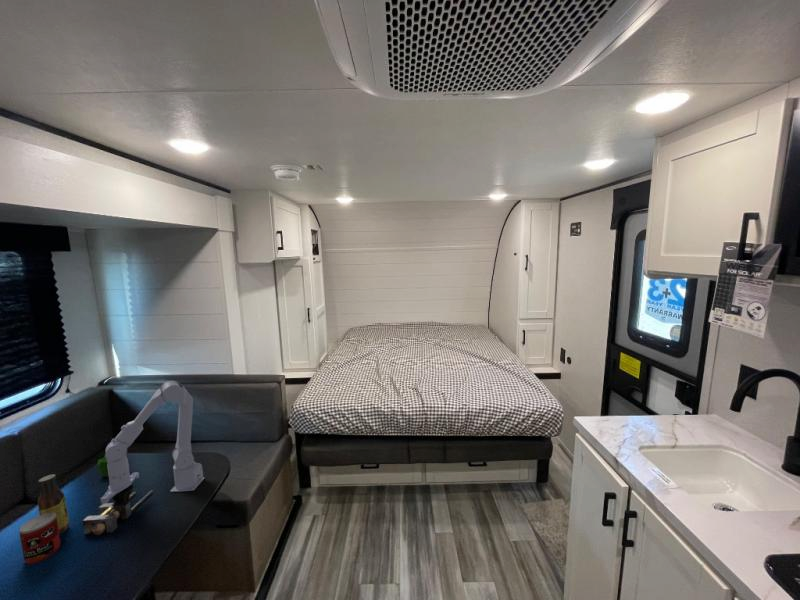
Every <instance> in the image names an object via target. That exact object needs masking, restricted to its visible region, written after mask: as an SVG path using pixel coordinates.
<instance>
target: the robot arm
mask: <svg viewBox="0 0 800 600" xmlns="http://www.w3.org/2000/svg"><path fill="white" fill-rule="evenodd" d="M168 402H170V403H175V405H178V416H177V417H178V418H177V434H176V443H175V446H174V447H175V448H174V449H173V450H172V455H171V457H172V458H173V461H174V465H173V466H172V469H173V478H174V486H173V487H172V488H171V489H170V493H176V492H190V491H191V492H192V491H195V490H196V489H197V487H198V486H199V485H200V484H201V483H202V482H203V481H204V479H205V477H204V472H203V465H202V464H201V462H200V463H199V462H196V461H195V457H194V455H193V453H192V443H191V441H192V427H193V426H192V425H193V411H194V398H193V396H192V395H191V394H190V393H189V391H188V390H187V389H186V387H185V386H184V385H183V384H182V383H180V382H178V381H176V380H166V381H165V382H164V383H162V384H161V386H160V387H159V388H158V389H157V390H156V391H155V392H154V394H153V395H152V396H151V397H150V399H149V400H148V401H147V403H146V404H145V405H144V407H143V408H142V409H141V410H140V412H139V413H138V415H137V416H136V417H135V419H134V420H132V421H128V422H127V423H126V424H123V425H122V426H121V427H120V432H119V433H118V434H117V435H116V436H115V438H112V439H111V441H110V442H109V443H108V444H107V446H106V447H105V454H104V457H105V456H106V459H107V463H108V465H107V468H108V475H109V476H108V482H109V485H108V486H107V491H106V492H105V493H104V494H103V496H102V497H100V504H101V505H102V504H104V503H110V500H111V499H112V500H113V501H114V503H119V502H130V499H129V497H130V495H131V494H132V493H133V492H132V491H133V489H134V485H133V484H132V483H133V482H134V481H135V480H136V479H139V477H140V472H137V471H136V472H132V474H131V473H130V465H129V460H128V459H129V458H128V457H127V453H128V448H129V447H130V446H131V445H132V444H133V443H134V441H135V440H136V439H137V438H138V436H140V434H141V433H142V432H143V430H144V426H143V425H144V423H145V422H146V421H147V420H148V419H149V417H151V415H152V414H153V413H154V412H155V411H156V410H157V409H158V407H160V406H163V405H167V403H168Z"/></svg>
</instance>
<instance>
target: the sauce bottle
mask: <svg viewBox="0 0 800 600" xmlns="http://www.w3.org/2000/svg"><path fill="white" fill-rule="evenodd" d="M37 483H38V485H39V488H40V496H39V497H38V499H37V505H38V516H40V515H42V514H46V513H51V512H52V513H55V514H56V517H57V523H58V530H59V535H61V534H63V533H64V532H66V531H67V530H68V529H69V527H70V523H69V522H70V520H69V514H68V507H67V502H66V498H65V493H64V492H63V491H62V490H61V489H60V487H59V486H58V483H57V476H56V474H53V473H52V474H48V475H46V476H44V477H42V478H39V479H38V482H37Z"/></svg>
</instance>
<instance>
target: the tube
mask: <svg viewBox="0 0 800 600" xmlns="http://www.w3.org/2000/svg"><path fill="white" fill-rule="evenodd" d="M112 510H113V509H112ZM112 510H111V511H112ZM111 511H110V512H111ZM111 514H116V519H117V520H118V519H119V518H121V512H120V509H114V510H113V511H112V512H111V513H109V514H108V515H111ZM92 531H93V532H92V533H93V534H94V535H96V536H100V535H102V534H103V533H104V532H105V531H106V524H105V522H97V523H96V524H95V526H94V527H93V530H92Z"/></svg>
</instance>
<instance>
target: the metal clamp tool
mask: <svg viewBox="0 0 800 600" xmlns="http://www.w3.org/2000/svg"><path fill="white" fill-rule="evenodd" d="M153 493H154V490H153V489H152V490H150V491H148V492H147V493H146V495H144V496H143V497H142V498H141V499H139V501H138V502H136V503H135V504H134V505H133V506H132V507H131V502H130V501H129V502H119V503H116V502H108V503H104V504H101V505H99V507H98V515H88V516H86V517H85V518H84V519H83V520H82V526H83V527H82V528H83V532H84V535H91V534H92V533H93V531H92V530H93V527H94V526H96V523H99V522H105V524H106V530H105V531H106V533H108V534H109V532H110V533H113V532H115V531H116V530H117V529H118V528H117V527H118V522H117V520H118V519H116V514H111V515H108V514H109V513H111V512H112V511H113V510H114V509H120V512H121V516H120V519H121V520H124V519H125V520H127V519H128V518H130V517H131V516H132V514H133V512H134V511H135V510H136V509H137V508H138V507H139V506H140V505H141V504H142V503H143V502H145V500H146V499H148V498H149V497H150V496H151V495H152V494H153ZM135 495H137V491H133V492H131V494H130V497H129V500H130V499H131V498H133V497H134V496H135ZM129 516H130V517H129ZM116 528H117V529H116ZM115 529H116V530H115ZM114 530H115V531H114Z"/></svg>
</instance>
